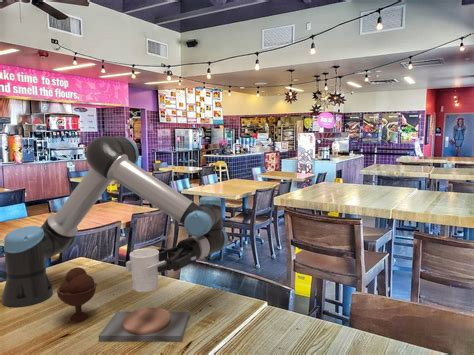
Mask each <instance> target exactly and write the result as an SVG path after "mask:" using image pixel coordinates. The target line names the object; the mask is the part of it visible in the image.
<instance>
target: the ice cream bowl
mask: <svg viewBox="0 0 474 355" xmlns="http://www.w3.org/2000/svg"><path fill="white" fill-rule="evenodd" d="M97 285H98V284H97V282H95V279H94V277H93V276H91V275H90V274H88V273H87V271H86V270H85V269H84V268H83V267H77V266H75V267H73V268H71V269H69V270H68V271H67V273H66V274H65V279H64V280H63V281H62V282H61V283H60V285H59V287H58V288H57V291H56V294H57V296H58V299H59V300H60V301H61V302H63V303H64V304H66V305H68V306H71V307H75V308H74V309H75V312H74V313H72V314H70V316H69V318H68V320H69V321H70V322H72V323H78V322H84V321H85V320H87V319H88V318H89V317H90V316H89V313H88V312H86V311H83V310H82V309H83V308H82V306H83V305H85V304H86V303H88V302H89V301H90V300H91V299H93V297H94V296H95V293H96V290H97Z"/></svg>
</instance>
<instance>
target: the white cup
mask: <svg viewBox="0 0 474 355" xmlns="http://www.w3.org/2000/svg"><path fill="white" fill-rule="evenodd" d="M129 261H130V264H131V271H130V272H131V279H132V288H133V290H134V291H135V292H138V293H148V292H152V291H155V290H157V289H158V287H159V274H157V275H154V276H152V277H149V278H147V277H146V267H149V266H151V265H154V264H157V263H159V262H160V261H159V251H158V250H156V249H155V248H141V249H140V248H139V249H136V250H133V251H131V252H130V253H129Z"/></svg>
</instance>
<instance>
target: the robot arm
mask: <svg viewBox="0 0 474 355" xmlns="http://www.w3.org/2000/svg"><path fill="white" fill-rule="evenodd" d="M85 158H86V162H87V163H88V165H89V166H90V168H89V169H88V171H87V172H86V173H85V175H84V176H83V177H82V179H81V180H80V181H79V183H78V184H77V185H76V187H75V189H74V190H73V191H72V192H71V194H70V195H69V197H68V198H67V199H66V200H65V202H64V203H63V204H62V205H61V207H60V208H59V210H58V211H57V212H56V213H53V214H50V215H48V217H47V218H46V219H45V221H44V222H43V224H42V225H41V226H38V225H30V226H28V225H27V226H23V227H18V228H16V229H13V230H11V231H9V232H8V233H6V235H5V236H4V239H3V240H4V241H3V242H4V245H3V252H4V261H5V271H6V272H5V273H6V281H5V284H4V287H3V291H2V295H1V302H2V304H3V305H4V306H7V307H11V308H12V307H14V308H17V307H25V306H31V305H36V304H38V303H42V302H44V301H46V300H48V299H49V298H51V297H52V296H53V294H54V287H53V284H52V282H51V280H50V277H49V276H48V273H47V268H46V266H47V265H46V261H47V260H48V259H51V258H53V257H55V256H57V255H59V254H62V253H64V252H66V251H68V250H69V249H71V248H72V247H73V245H74V244H75V242H76V239H77V235H78V231H79V229H78V227H79V225H80V223H81V222H82V220H84V218H85V217H86V216H87V214H88V213H89V212H90V210H92V207H94V205H95V204H96V203H97V202H98V200H99V199H100V197H101V196H103V195H102V194H103V193H104V192H105V191H106V190H107V188H108V187H109V186H110V185H111V183H112V182H113V181H115V182H117V183H119V184H120V185H122V186H123V187H124V188H126V189H128V190H129V191H130V192H132V193H134V194H135V195H137V196H138V197H140V198H142V199H143V200H145V201H146V202H148V203H149V204H151V205H153V206H154V207H155V208H158V210H160V211H161V212H163V213H165V214H166V215H167V216H169V217H171V218H172V219H174V220H175V221H177V223H178V222H179V223H180V224H181V225H183V226H184V228H185V229H184V230H185V231H186V233H187V234H188V235H190V236H191V237H187V238H185V239H182V240H180V241H179V242H177V245H176V246H172V247H171V248H167V247H166V246H162V247H160V248H158V249H156V250H158V251H159V263H157V264H154V265H151V266H149V267H146V277H147V278H149V277H152V276H154V275H157V274H158V275H159V274H161V273H164V272H166V271H172V270H173V272H178V271H179V270H180V269H181V270H182V269H183V268H185V267H187V266H188V265H190V264H193V263H196V262H197V261H199V260H201V259H202V258H205V257H207V256H209V255H212V254H215V253H218V252H220V251H222V250H224V249H225V248H226V247H227V245H228V244H229V236H228V233H227V232H226V230H224V229H223V222H222V221H223V220H222V219H223V217H222V215H223V214H222V211H223V210H222V209H223V206H222V198H221V197H219V196H215V195H210V196H209V195H208V196H207V195H206V196H202V197H200V198H199V202H198V204H197V203H195V202H194V201H193V200H192V199H189V198H188V197H187V196H185V195H183V194H182V193H180V192H178V191H177V190H176V189H174V188H172V187H171V186H169V185H167V184H166V183H165V182H163V181H161V180H160V179H158V178H156V177H155V176H154V175H152V174H151V173H149V172H147V171H146V170H145V169H143V168H141V167H140V166H139V165H137V163H138V160H139V158H140V153H139V148H138V146H137V144H136V143H135V141H133V140H132V139H131V138H128V137H125V136H123V135H122V136H121V135H117V136H108V135H105V136H104V135H103V136H98V137H96V138H94V139H92V140H91V141H90V142H89V144H88V145H87V148H86V151H85ZM125 271H126V273H130V272H131V264H130V260H128V261H126V262H125Z"/></svg>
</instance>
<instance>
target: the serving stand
mask: <svg viewBox="0 0 474 355" xmlns="http://www.w3.org/2000/svg"><path fill="white" fill-rule="evenodd" d="M190 315H191V314H190V311H168V310H167V309H164V308H160V307H155V306H154V307H153V306H152V307H151V306H150V307H142V308H139V309H135V310H132V311H130V310H129V311H127V310H125V311H123V310H122V311H120V310H119V311H115V314H113V316H112V317H111V318H110V320H109V321H108V323H106V325H105V327H104V328H103V329H102V330H101V332H100V333H99V335H98V342H182V341H183V337H184V335H185V332H186V329H187V327H188V326H187V325H188V322H189V319H190Z"/></svg>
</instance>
